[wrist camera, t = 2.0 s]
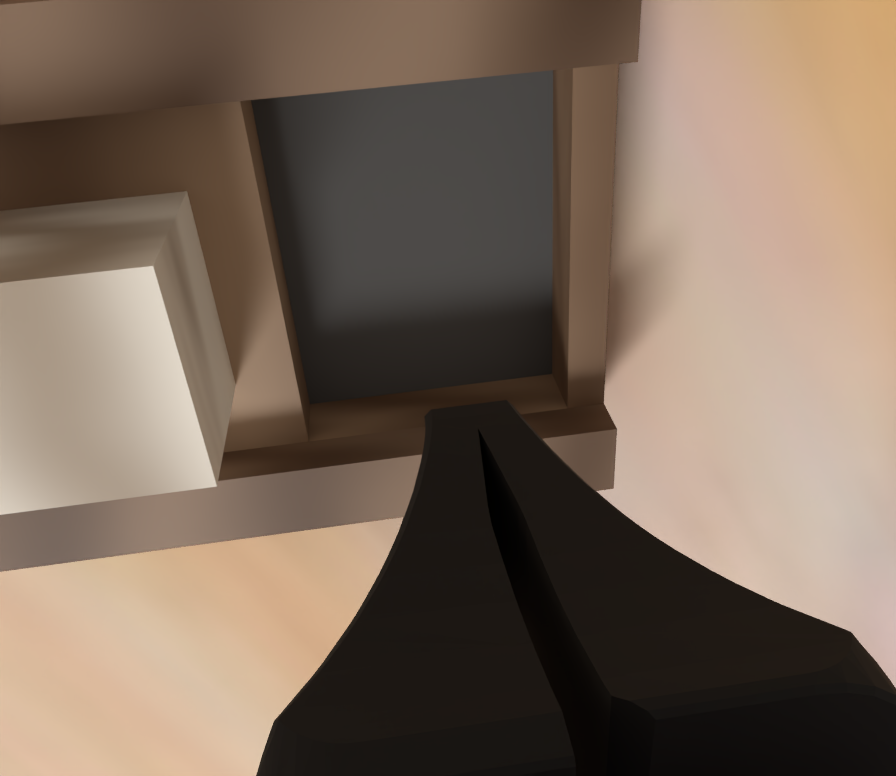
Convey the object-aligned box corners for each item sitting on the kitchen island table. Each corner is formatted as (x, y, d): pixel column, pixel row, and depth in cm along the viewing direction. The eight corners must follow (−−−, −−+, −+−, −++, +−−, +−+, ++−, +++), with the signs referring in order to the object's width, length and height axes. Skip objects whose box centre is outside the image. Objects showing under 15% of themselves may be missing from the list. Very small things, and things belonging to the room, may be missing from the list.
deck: (-314, 537, 23) (-399, 626, 20) (-698, 50, 16) (-908, 85, 13) (582, 421, 25) (613, 488, 22) (595, -63, 18) (644, -54, 15)
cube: (30, 410, 20) (-31, 518, 16) (-52, 216, 17) (-145, 299, 14) (235, 384, 20) (217, 486, 17) (187, 191, 17) (153, 265, 14)
